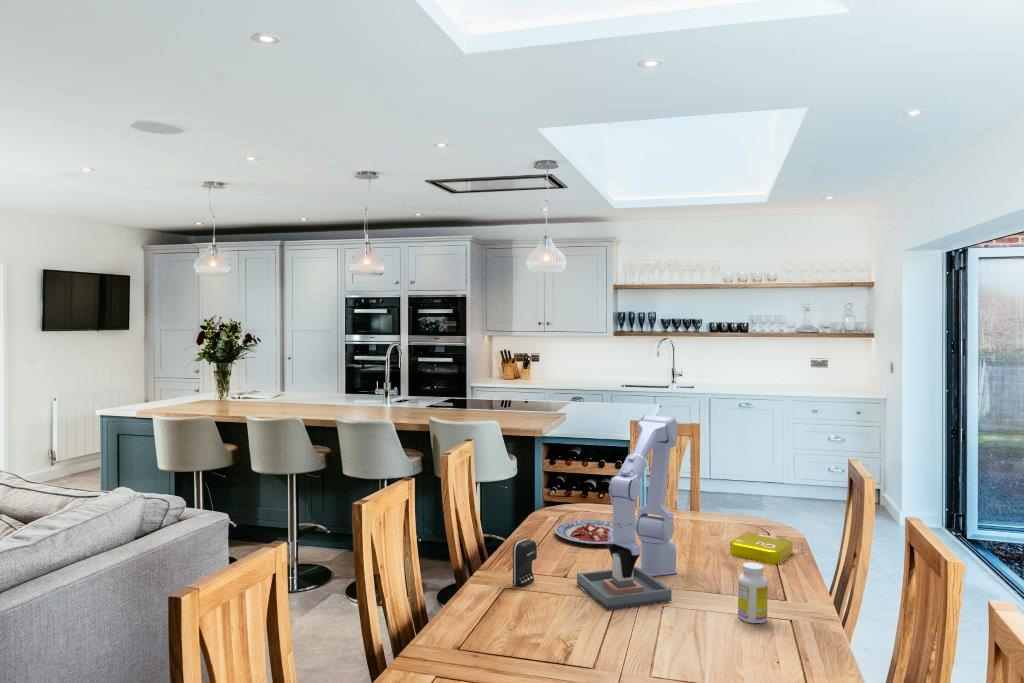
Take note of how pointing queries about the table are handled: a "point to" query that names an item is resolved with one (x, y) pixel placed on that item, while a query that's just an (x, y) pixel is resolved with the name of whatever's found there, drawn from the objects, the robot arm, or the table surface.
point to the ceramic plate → (585, 531)
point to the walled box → (623, 589)
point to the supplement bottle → (752, 594)
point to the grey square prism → (620, 574)
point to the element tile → (761, 548)
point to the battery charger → (523, 561)
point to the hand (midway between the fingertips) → (623, 574)
